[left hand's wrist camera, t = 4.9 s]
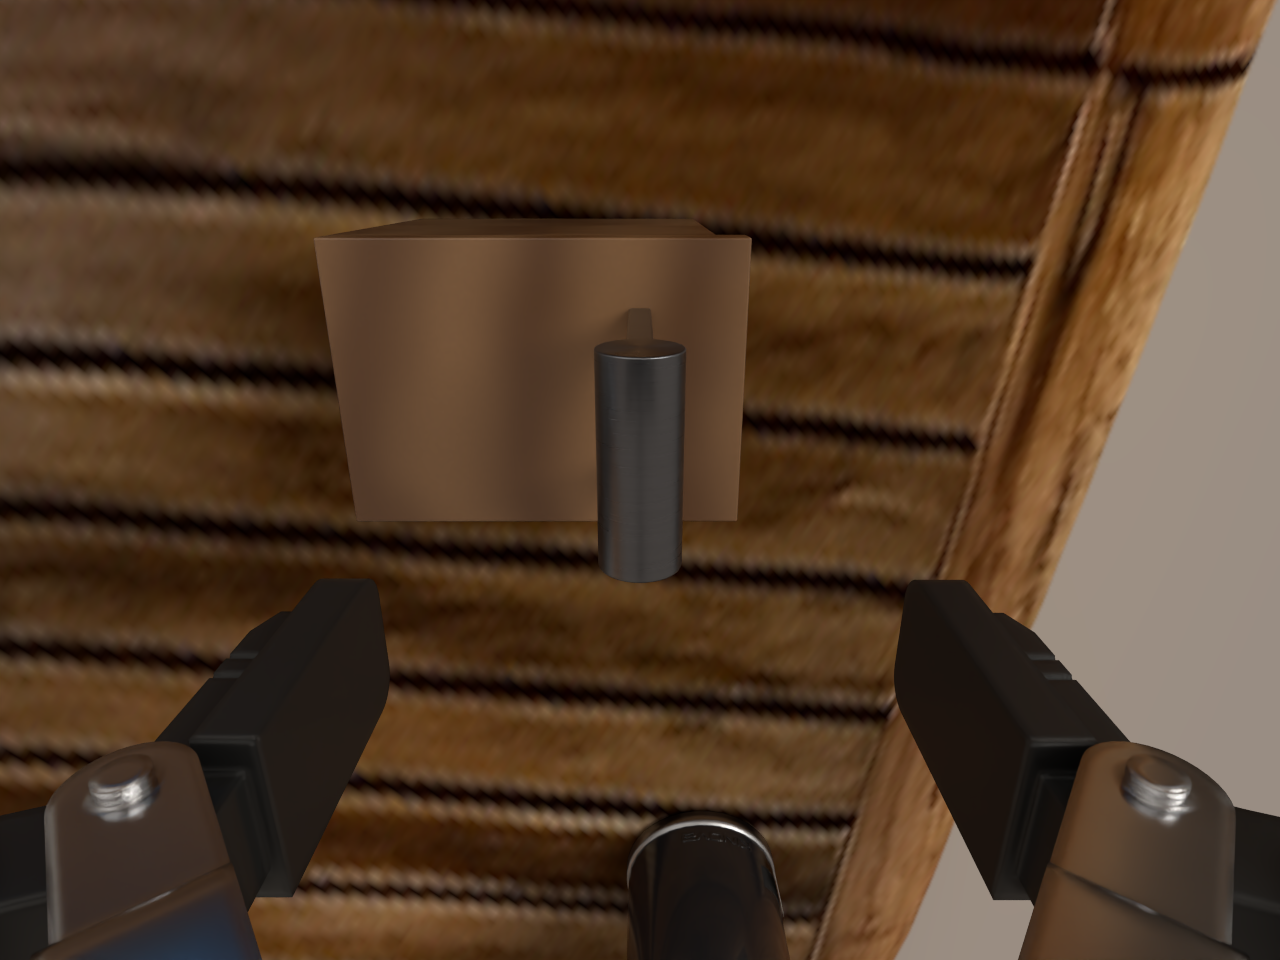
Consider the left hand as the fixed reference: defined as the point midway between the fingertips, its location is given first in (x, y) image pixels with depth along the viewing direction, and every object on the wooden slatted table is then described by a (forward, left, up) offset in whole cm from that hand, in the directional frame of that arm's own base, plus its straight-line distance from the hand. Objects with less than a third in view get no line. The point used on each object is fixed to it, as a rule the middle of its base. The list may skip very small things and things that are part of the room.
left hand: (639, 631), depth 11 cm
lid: (-1, +3, -16) cm, 16 cm away
